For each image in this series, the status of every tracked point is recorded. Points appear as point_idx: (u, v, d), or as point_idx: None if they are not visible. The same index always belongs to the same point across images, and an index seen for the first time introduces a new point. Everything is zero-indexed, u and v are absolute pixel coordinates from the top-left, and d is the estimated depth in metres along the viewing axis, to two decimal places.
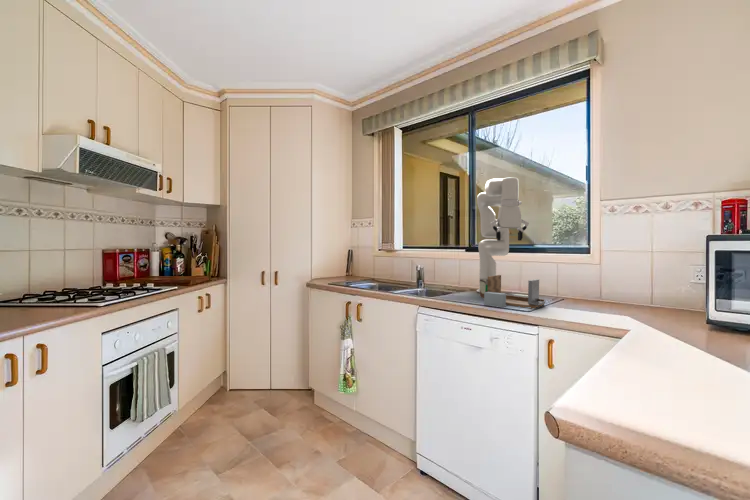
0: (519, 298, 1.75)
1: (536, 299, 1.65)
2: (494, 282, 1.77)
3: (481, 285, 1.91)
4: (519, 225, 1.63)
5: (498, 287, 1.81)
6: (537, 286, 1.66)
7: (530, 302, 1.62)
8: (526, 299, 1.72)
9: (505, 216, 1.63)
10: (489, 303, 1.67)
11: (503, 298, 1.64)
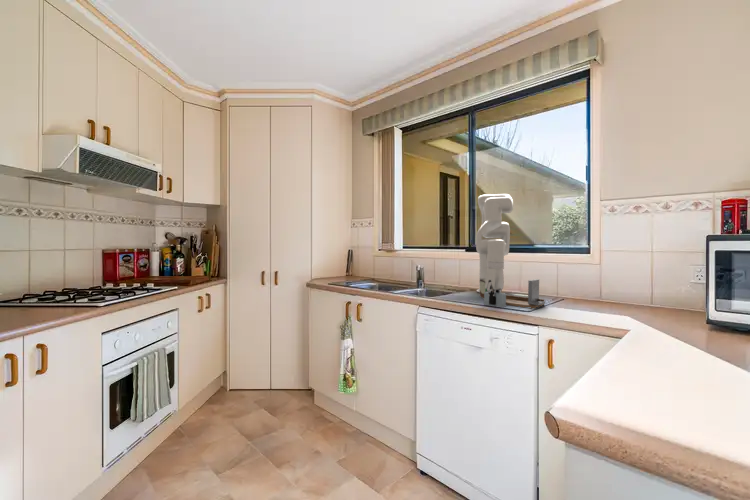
0: (519, 298, 1.75)
1: (536, 299, 1.65)
2: None
3: (481, 285, 1.91)
4: (502, 286, 1.68)
5: None
6: (537, 286, 1.66)
7: (530, 302, 1.62)
8: (526, 299, 1.72)
9: (497, 278, 1.64)
10: None
11: (503, 298, 1.64)
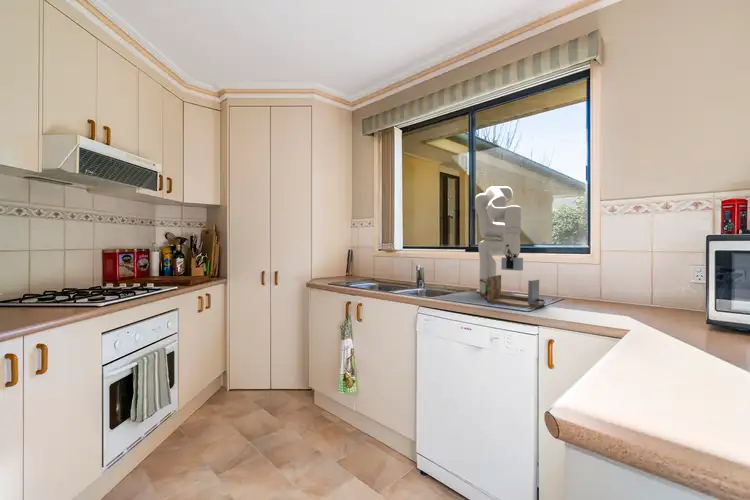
0: (519, 298, 1.75)
1: (536, 299, 1.65)
2: (494, 282, 1.77)
3: (481, 285, 1.91)
4: (519, 251, 1.73)
5: (498, 287, 1.81)
6: (537, 286, 1.66)
7: (530, 302, 1.62)
8: (526, 299, 1.72)
9: (514, 243, 1.69)
10: None
11: (520, 262, 1.69)
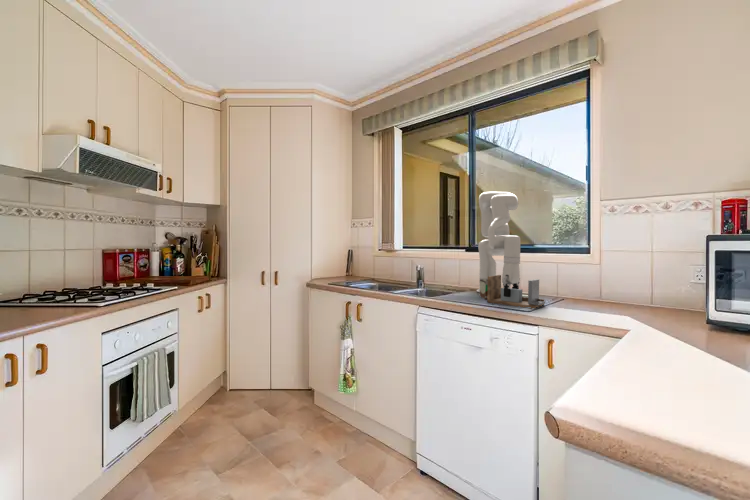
0: None
1: (536, 299, 1.65)
2: (494, 282, 1.77)
3: (481, 285, 1.91)
4: (519, 280, 1.74)
5: (498, 287, 1.81)
6: (537, 286, 1.66)
7: (530, 302, 1.62)
8: (526, 299, 1.72)
9: (514, 273, 1.69)
10: (506, 298, 1.73)
11: (520, 294, 1.69)
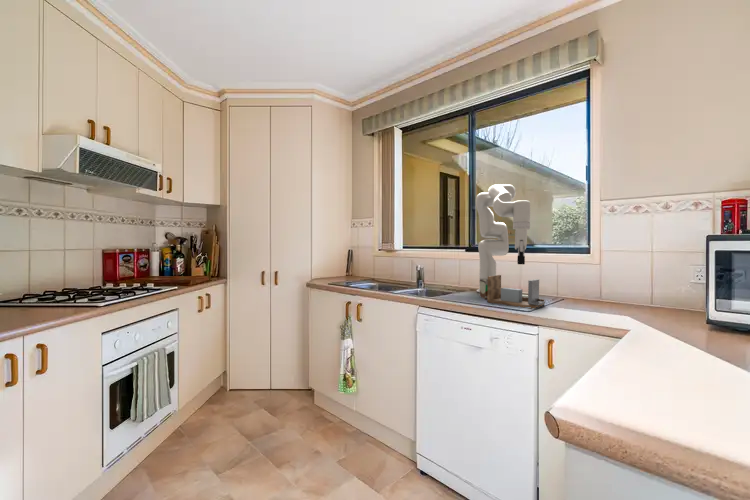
0: None
1: (536, 299, 1.65)
2: (494, 282, 1.77)
3: (481, 285, 1.91)
4: (525, 247, 1.72)
5: (498, 287, 1.81)
6: (537, 286, 1.66)
7: (530, 302, 1.62)
8: (526, 299, 1.72)
9: (526, 238, 1.65)
10: (506, 298, 1.73)
11: (520, 294, 1.69)
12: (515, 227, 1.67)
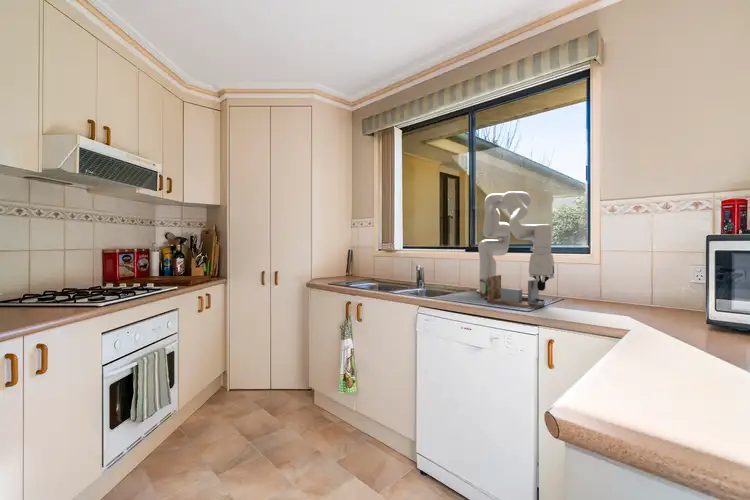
0: None
1: (536, 299, 1.65)
2: (494, 282, 1.77)
3: (481, 285, 1.91)
4: None
5: (498, 287, 1.81)
6: None
7: (530, 302, 1.62)
8: (526, 299, 1.72)
9: None
10: (506, 298, 1.73)
11: (520, 294, 1.69)
12: (545, 252, 1.58)
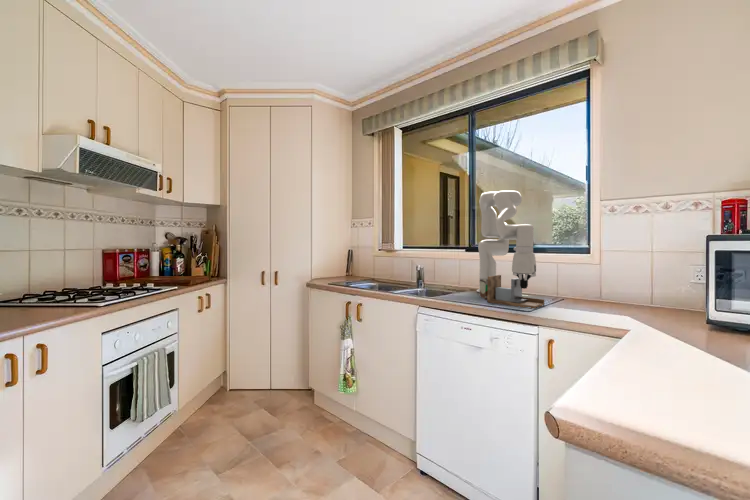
0: None
1: (519, 297, 1.71)
2: (494, 282, 1.77)
3: (481, 285, 1.91)
4: None
5: None
6: None
7: (513, 300, 1.68)
8: None
9: None
10: (500, 298, 1.75)
11: None
12: (527, 251, 1.64)
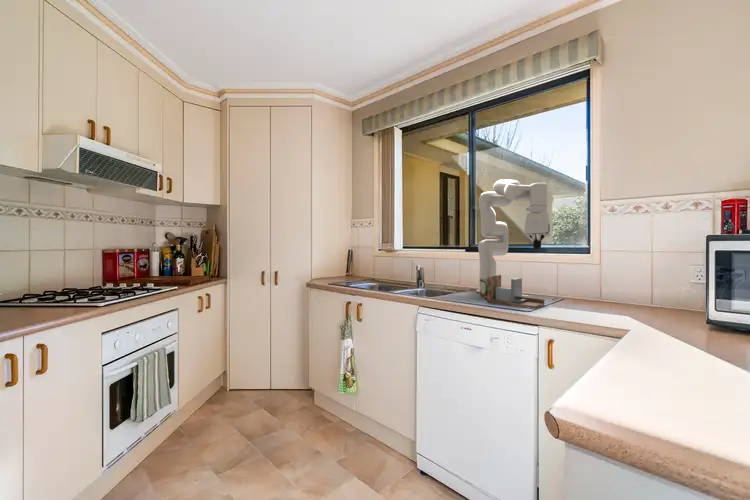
0: None
1: (519, 297, 1.71)
2: (494, 282, 1.77)
3: (481, 285, 1.91)
4: None
5: None
6: (520, 284, 1.72)
7: (513, 300, 1.68)
8: None
9: None
10: (500, 298, 1.75)
11: None
12: (541, 210, 1.59)
